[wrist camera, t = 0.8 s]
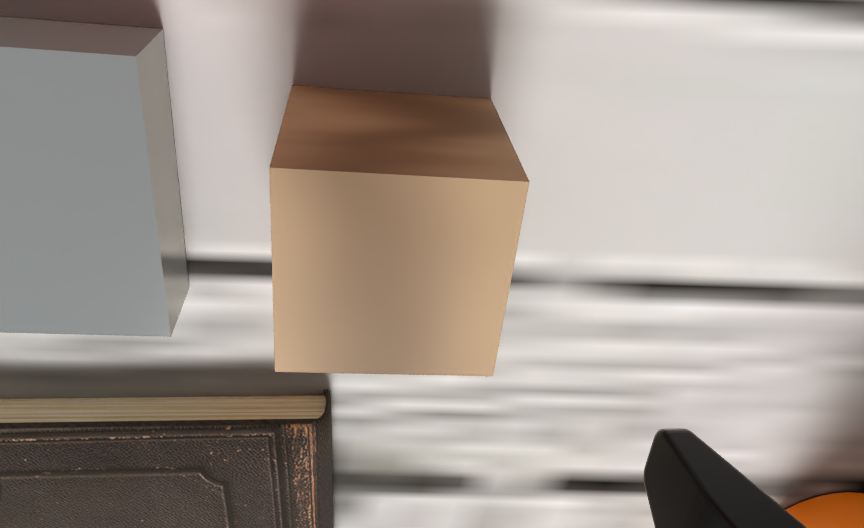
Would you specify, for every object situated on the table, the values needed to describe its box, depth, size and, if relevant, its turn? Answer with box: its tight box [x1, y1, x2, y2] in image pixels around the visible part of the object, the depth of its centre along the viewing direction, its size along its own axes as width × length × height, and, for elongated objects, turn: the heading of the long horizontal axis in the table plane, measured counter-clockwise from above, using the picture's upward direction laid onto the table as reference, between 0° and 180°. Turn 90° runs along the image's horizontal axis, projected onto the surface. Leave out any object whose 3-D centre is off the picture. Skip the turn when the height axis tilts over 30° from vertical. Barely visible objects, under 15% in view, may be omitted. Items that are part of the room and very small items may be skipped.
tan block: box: [270, 85, 529, 376], centre depth 18 cm, size 6×6×6 cm
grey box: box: [0, 16, 189, 337], centre depth 18 cm, size 8×8×2 cm
